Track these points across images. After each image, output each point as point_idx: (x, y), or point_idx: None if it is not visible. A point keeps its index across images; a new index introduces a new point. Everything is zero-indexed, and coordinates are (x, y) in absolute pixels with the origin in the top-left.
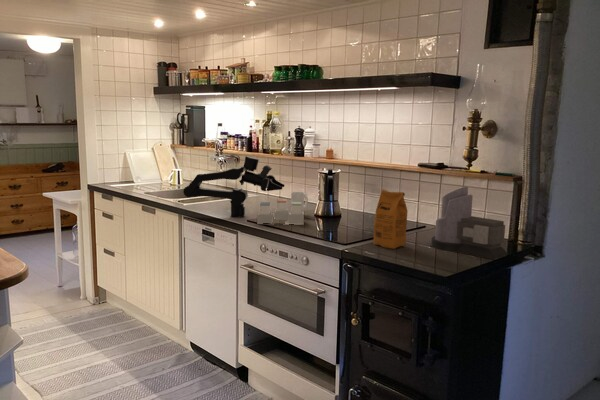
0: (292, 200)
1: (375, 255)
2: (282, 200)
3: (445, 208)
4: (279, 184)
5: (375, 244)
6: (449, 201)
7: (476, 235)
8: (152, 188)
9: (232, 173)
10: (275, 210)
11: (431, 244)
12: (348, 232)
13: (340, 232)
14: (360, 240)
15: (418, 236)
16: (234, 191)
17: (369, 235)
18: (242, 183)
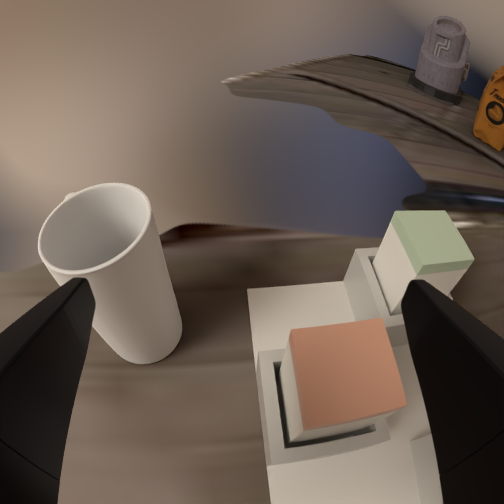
0: (137, 304)
1: None
2: (372, 357)
3: (460, 50)
4: (52, 363)
5: (501, 149)
6: (469, 42)
7: (466, 74)
8: None
9: None
10: (354, 443)
11: (446, 101)
12: (446, 164)
13: (458, 178)
14: (492, 160)
15: (397, 95)
16: None
17: (444, 140)
18: None
